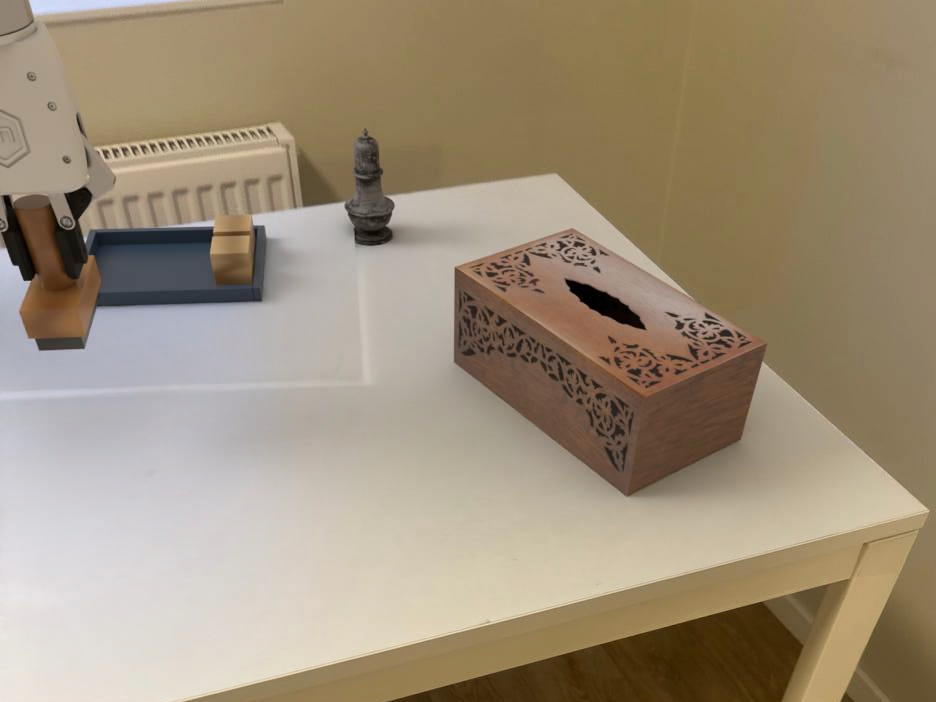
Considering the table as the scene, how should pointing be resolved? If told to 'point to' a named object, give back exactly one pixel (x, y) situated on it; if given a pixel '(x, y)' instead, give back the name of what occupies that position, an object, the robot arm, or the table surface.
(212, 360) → the table surface
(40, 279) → the brush
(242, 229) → the block
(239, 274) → the block
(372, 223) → the salt shaker
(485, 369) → the tissue box cover
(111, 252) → the tray
